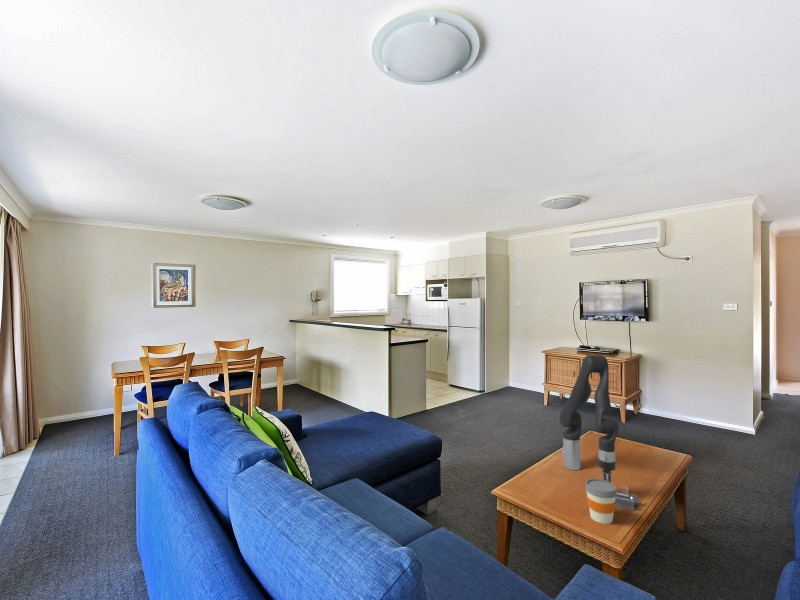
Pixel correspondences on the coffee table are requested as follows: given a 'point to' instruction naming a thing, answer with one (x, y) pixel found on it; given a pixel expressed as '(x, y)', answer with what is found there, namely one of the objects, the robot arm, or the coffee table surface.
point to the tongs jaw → (625, 503)
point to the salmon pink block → (624, 490)
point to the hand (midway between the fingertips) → (607, 492)
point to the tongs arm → (629, 497)
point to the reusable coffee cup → (601, 500)
